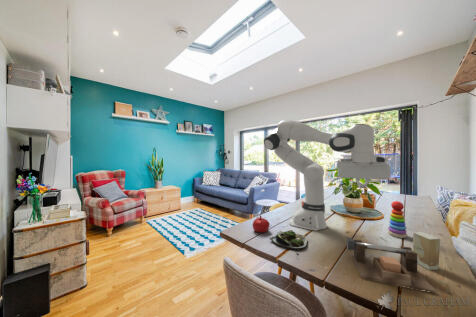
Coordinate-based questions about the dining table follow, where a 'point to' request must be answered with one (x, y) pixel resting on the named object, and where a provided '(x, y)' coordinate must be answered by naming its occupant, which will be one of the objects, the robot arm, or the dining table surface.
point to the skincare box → (426, 250)
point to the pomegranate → (260, 225)
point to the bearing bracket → (375, 272)
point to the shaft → (374, 247)
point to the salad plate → (290, 240)
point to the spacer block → (390, 264)
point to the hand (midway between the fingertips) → (362, 188)
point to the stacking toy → (397, 221)
